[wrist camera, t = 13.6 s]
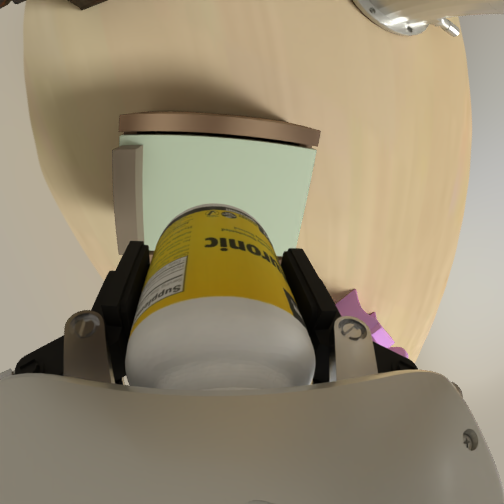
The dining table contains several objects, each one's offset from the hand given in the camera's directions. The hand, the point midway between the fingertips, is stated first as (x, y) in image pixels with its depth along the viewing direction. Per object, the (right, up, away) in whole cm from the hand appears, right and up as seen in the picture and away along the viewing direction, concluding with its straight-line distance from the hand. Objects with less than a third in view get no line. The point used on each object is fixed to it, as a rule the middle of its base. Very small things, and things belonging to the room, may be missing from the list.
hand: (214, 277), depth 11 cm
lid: (-1, +5, +9) cm, 10 cm away
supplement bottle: (0, +1, +2) cm, 2 cm away
